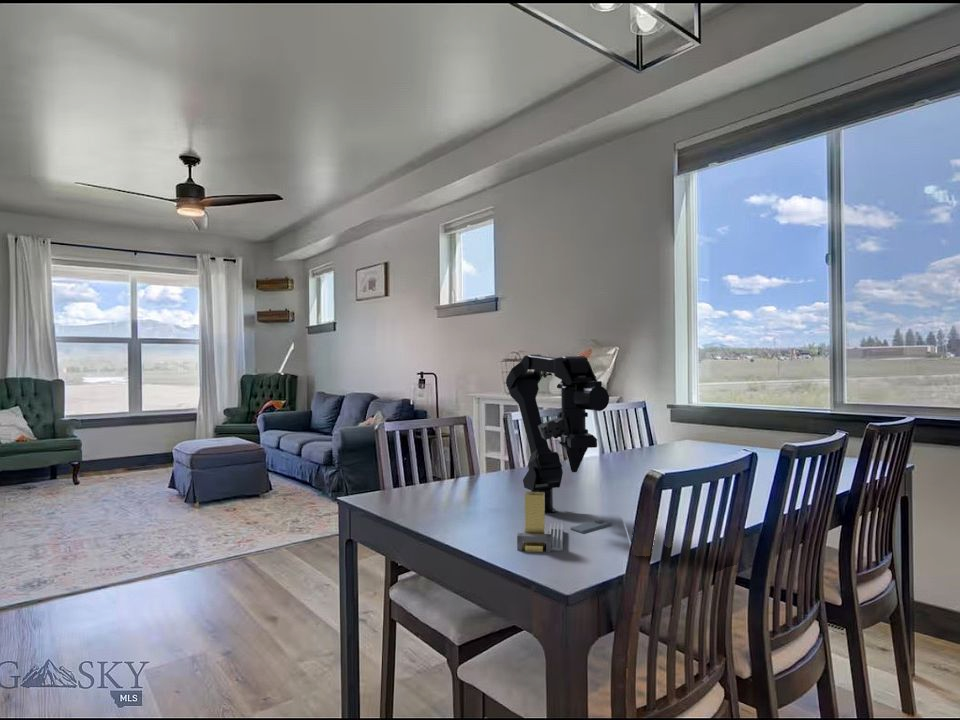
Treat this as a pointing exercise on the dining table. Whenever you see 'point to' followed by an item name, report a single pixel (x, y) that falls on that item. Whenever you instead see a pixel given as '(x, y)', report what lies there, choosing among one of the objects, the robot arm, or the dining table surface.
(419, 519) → the dining table surface
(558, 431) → the robot arm
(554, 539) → the socket board
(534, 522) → the yellow rectangular block
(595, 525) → the dark grey flat block
